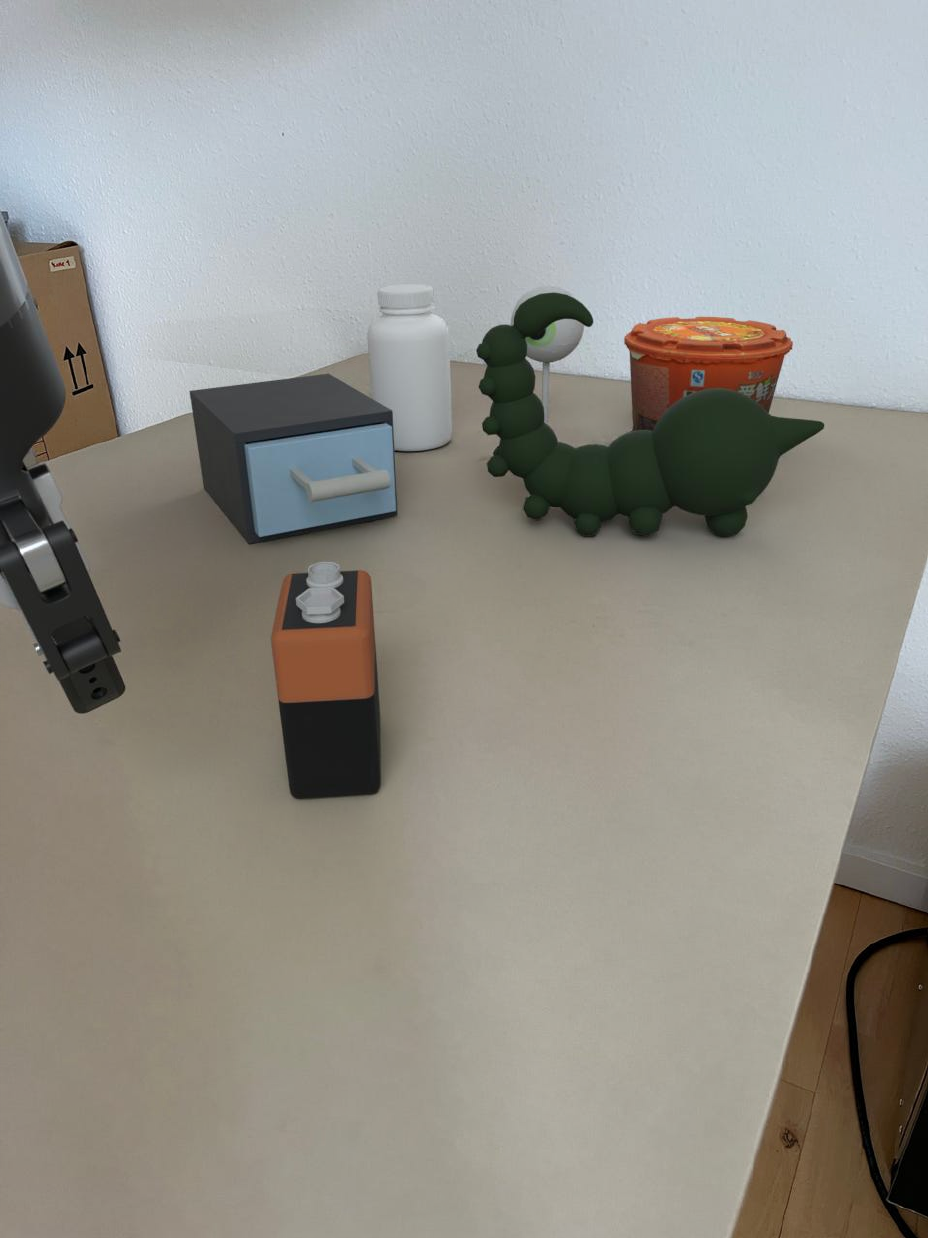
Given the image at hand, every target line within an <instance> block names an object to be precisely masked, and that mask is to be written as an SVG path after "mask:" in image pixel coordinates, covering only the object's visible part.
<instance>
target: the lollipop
mask: <svg viewBox="0 0 928 1238" xmlns="http://www.w3.org/2000/svg"><path fill="white" fill-rule="evenodd" d="M553 292H555V293H561V294H566V295H569V296H571V297H573V298H575V299H577V298H576V297H575V296H574V294H572V293H571V292H570V291H569V290H567V289H566V288H563V287H561V286H556V285H550V284H547V285H540V286H537V287H533V288H532V289H530V290H528V291H527V292H525V293H524V294H523V295H521V296H520V298H519V299H518V300H517V302H516V304H515V306H514V307H513V311H512V314H511V317H510V325H511V326H513V324H514V316H515V312H516V310H517V309H518V307H519V306H520V304H522V303H523V302H524V301H526V300H527V299H529V298H531V297H534V296H536V295H539V294H543V293H553ZM584 331H585V325H583V324H582V323H580V322H578V321H577V320H573V319H562V320H558V321H555V322H553V323H552V324H550V325H549V326H548V327H547V328H546V329H545V330H544V331H542V332H541V333H539V334H537V335H535V336H532V337H526V338H525V339H526V342H527V355H526V358H529V359H531V360H532V361H535V362H538V363H542V373H541V375H542V376H541V378H542V379H541V402H542V404H543V407H544V416H545V420H544V423H546V424H547V425H548V426H549V403H550V401H549V397H550V368H551V367H550V366H551V363H555V362H557V361H558V362H559V361H561V360H563V359H565V358H566V357H568V356H569V355H570V354H571V353H573V352H574V351H575V349H576V348H577V347H578V346H579V344H580V343H581V341H582V338H583V335H584Z"/></svg>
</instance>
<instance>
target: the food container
mask: <svg viewBox="0 0 928 1238" xmlns="http://www.w3.org/2000/svg"><path fill="white" fill-rule="evenodd" d="M623 340H624V343H623V344H624V346H626V348H627V350H628V351H629V371H630V389H631V390H630V392H631V394H630V395H631V409H632V410H631V414H632V431H636V430H651V431H653V429H654V427H655V425H656V423H657V422H658V420H659V419H660V417H661V416H662V415H663V414H664V412H665V411H666V410H667V409H668V408H669V407H670V406H672V405H673V404H674V403H675V402H677V401H678V400H679V399H681V398H683V397H685V396H687V395H689V394H691V393H694V392H697V391H701V390H704V389H711V388H723V389H729V390H733V391H737V392H740V393H742V394H744V395H746V396H748V397H750V398H752V399H753V400H755V401H756V402H757V403H759V404H760V405H761V406H762V407H763V408H764V409H765V410H766V411H767V412H768V413H769V414H770V410H771V407H772V404H773V403H772V402H773V399H774V395H775V392H776V388H777V386H778V385H777V384H778V382H779V377H780V374H781V371H782V367H783V363H784V359H785V356H786V355H788V354H789V353H790V352H791V350H793V345H794V342H793V341H792V338H791V337H788V336H787V332H786V331H785V330H784V329H777V327H776V325H774V324H771V323H766V322H761V321H757V320H745V321H744V320H743V321H742V320H736V319H735V318H733V317H722V316H721V317H719V316H696V317H695V318H680V317H677V316H675V317H663V318H655V319H650V320H647V322H646V323H642V322H638V323H637V324H635V325H633V327H632V328H631V331H629V332H628V333H626V335H625V336H624V338H623ZM788 356H790V355H788Z"/></svg>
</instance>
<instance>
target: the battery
mask: <svg viewBox="0 0 928 1238" xmlns="http://www.w3.org/2000/svg"><path fill="white" fill-rule="evenodd" d="M372 587H373V585H372V578H371V575H370V573H369V572H368V571H366V570H364V569H356V570H341V567H340V565H339V564H338V563H336V562H333V561H319V562H316V563H312V564H311V565H309V567H307V572H294V573H293V572H292V573H288V574H286V575H285V576H284V577H283V579H282V583H281V586H280V592H279V595H278V600H277V606H276V611H275V616H274V620H273V625H272V629H271V630H272V631H271V634H270V645H271V653H272V662H273V670H274V676H275V683H276V684H275V685H276V693H277V700H278V708H279V716H280V724H281V732H282V740H283V741H282V742H283V749H284V756H285V764H286V772H287V780H288V788H289V792H290V795H291V796H292V797H293V798H294V799H296V800H308V799H322V798H337V797H339V798H341V797H354V796H356V797H357V796H369V795H376V794H377V793H378V792H379V790H380V788H381V783H382V781H381V780H382V778H381V775H382V771H381V769H382V768H381V767H382V766H381V765H382V763H381V762H382V761H381V758H382V757H381V706H380V693H379V679H378V678H379V676H378V675H379V674H378V663H377V646H376V632H375V630H376V629H375V619H374V618H375V617H374V615H375V614H374V602H373V600H374V599H373V588H372Z"/></svg>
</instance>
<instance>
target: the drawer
mask: <svg viewBox="0 0 928 1238" xmlns="http://www.w3.org/2000/svg"><path fill="white" fill-rule="evenodd" d="M244 447H245V455H246V463H247V471H248V479H249V487H250V495H251V503H252V511H253V519H254V527H255V532H256V534H257V535H258V536H259V537H263V536H268V535H273V534H279V533H284V532H289V531H294V530H299V529H305V528H310V527H315V526H320V525H326V524H331V523H336V522H341V521H346V520H352V519H357V518H362V517H367V516H372V515H378V514H383V513H388V512H393V511H396V498H395V478H394V458H393V438H392V427H391V426H390V425H388V424H386V423H385V424H378V425H372V424H366V425H359V426H353V427H346V428H339V429H333V430H326V431H319V432H312V433H306V434H299V435H292V436H286V437H279V438H272V439H266V440H259V441H252V442H246V444H245V445H244Z"/></svg>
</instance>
